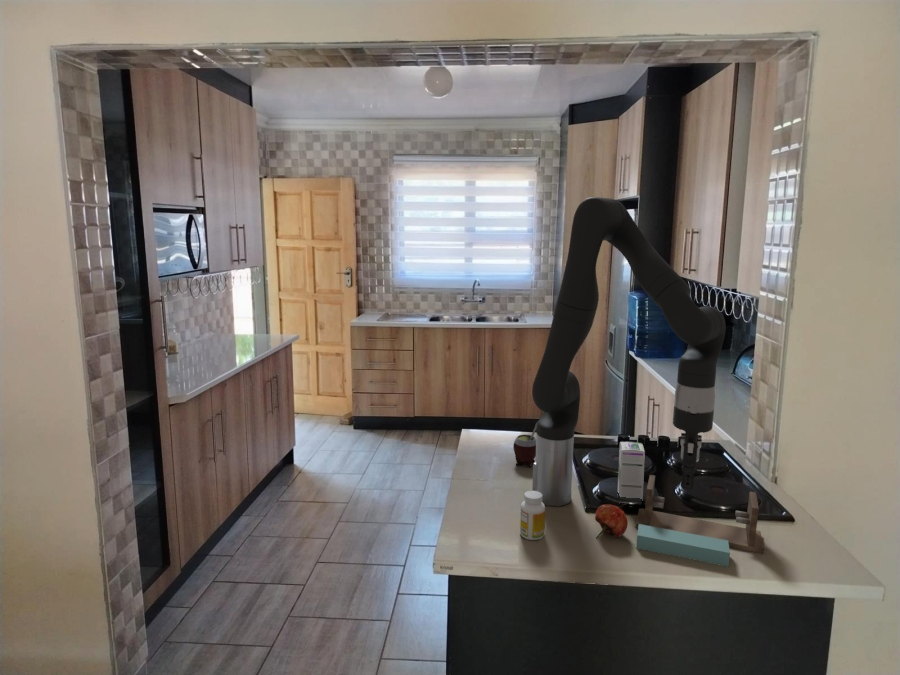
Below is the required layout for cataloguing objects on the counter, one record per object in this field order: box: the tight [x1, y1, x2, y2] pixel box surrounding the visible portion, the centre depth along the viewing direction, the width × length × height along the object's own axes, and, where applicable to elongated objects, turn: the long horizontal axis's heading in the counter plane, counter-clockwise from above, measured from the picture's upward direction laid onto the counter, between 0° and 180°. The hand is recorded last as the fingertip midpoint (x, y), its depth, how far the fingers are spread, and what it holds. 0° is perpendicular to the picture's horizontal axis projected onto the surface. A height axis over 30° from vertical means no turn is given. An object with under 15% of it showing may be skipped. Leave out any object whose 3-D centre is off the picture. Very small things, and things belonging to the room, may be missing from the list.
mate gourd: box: [512, 421, 538, 469], centre depth 165 cm, size 8×8×15 cm
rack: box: [635, 474, 765, 554], centre depth 129 cm, size 26×8×10 cm, turn 66°
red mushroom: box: [594, 503, 629, 539], centre depth 128 cm, size 7×7×10 cm
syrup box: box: [617, 441, 646, 500], centre depth 143 cm, size 6×6×14 cm
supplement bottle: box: [519, 490, 546, 541], centre depth 127 cm, size 5×5×10 cm
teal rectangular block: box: [635, 524, 731, 567], centre depth 122 cm, size 18×5×4 cm, turn 68°
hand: (687, 479), depth 119 cm, fingers open, 8 cm apart
